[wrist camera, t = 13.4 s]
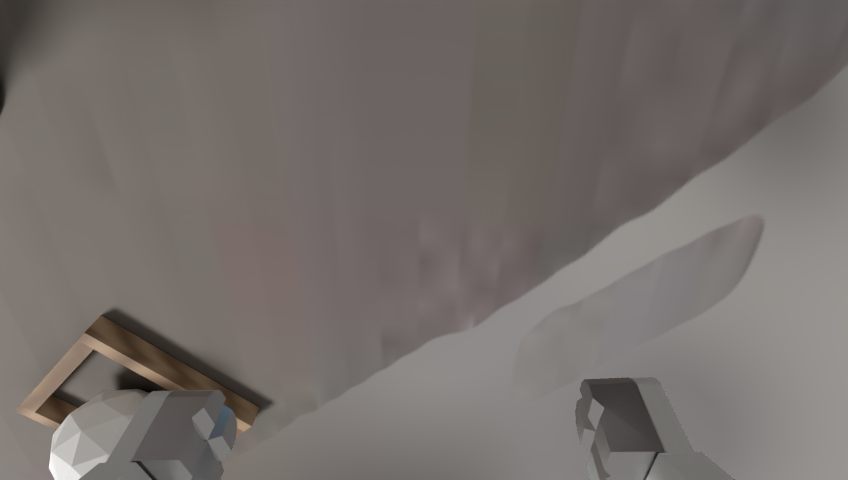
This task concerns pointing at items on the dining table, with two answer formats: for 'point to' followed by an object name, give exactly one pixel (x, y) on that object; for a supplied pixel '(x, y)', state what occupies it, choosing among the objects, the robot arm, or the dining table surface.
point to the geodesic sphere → (92, 432)
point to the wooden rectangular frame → (134, 357)
